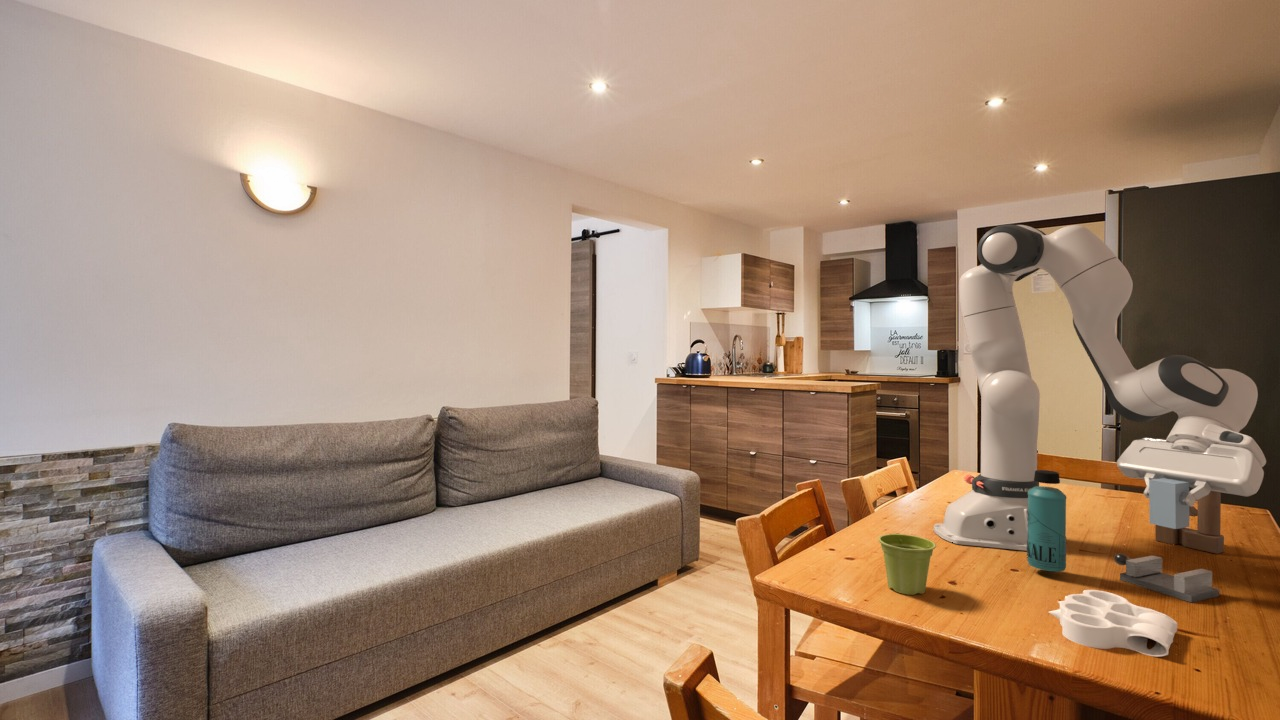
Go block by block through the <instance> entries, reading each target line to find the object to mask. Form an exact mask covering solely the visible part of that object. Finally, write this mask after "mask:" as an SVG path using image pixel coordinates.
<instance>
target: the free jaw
mask: <svg viewBox="0 0 1280 720" xmlns="http://www.w3.org/2000/svg"><path fill="white" fill-rule="evenodd" d="M1113 560H1114V562H1115V563H1116V564H1117V565H1119V566H1125V572H1126V574H1127V575H1130V576H1133V577H1138V576H1143V575H1148V574H1153V573H1158V572H1162V573H1163V557H1161V556H1157V555H1148V556H1142V557H1136V558H1129V557H1128V556H1127V555H1126V554H1124V553H1117V554H1115V555H1114V557H1113Z"/></svg>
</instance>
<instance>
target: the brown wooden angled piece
mask: <svg viewBox="0 0 1280 720" xmlns="http://www.w3.org/2000/svg"><path fill="white" fill-rule="evenodd" d="M1221 496H1222V492H1216V491H1210V493H1209V494H1208V495H1206V496H1204V497H1202V498H1200V499H1198V500H1197V508H1196V507H1194V505H1193V506H1192V507H1191V506H1189V517H1194V518H1195V517H1197V525H1196V526H1197V528H1196V529H1194V528H1190V527H1185V528H1179V529H1173V528H1168V527H1164V526H1159V525H1155V524H1154V525H1155V530H1154V531H1155V538H1154V539H1155V541H1157V542H1159V543H1163V542H1164V544H1168V543H1169V544H1168V545H1173V544H1174V545H1177V544H1179V545H1181V546H1182V547H1185V548H1188V549H1191V550H1192V549H1193V550H1197V551H1202V552H1207V553H1210V554H1215V555H1219V554H1220V553H1223V552H1224V551H1225V537H1224V535H1223V534H1221V521H1222V520H1221V519H1222V518H1221V506H1222V505H1221V503H1222V502H1221V499H1222V497H1221Z"/></svg>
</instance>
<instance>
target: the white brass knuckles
mask: <svg viewBox="0 0 1280 720" xmlns="http://www.w3.org/2000/svg"><path fill="white" fill-rule="evenodd" d="M1057 603H1058V604H1059V608H1058V609H1054V610H1051V611H1048V613H1049V614H1050V615H1052V616H1054V617H1055V618H1056V619H1058V620H1059V623H1060V624H1059V625H1060V626H1062V628H1061V630H1062V633H1061V634H1062V636H1063V637H1064V638H1066V639H1067V640H1069V641H1071V642H1073V643H1075V644H1078V645H1081V646H1084V647H1088V648H1093V649H1102V650H1107V649H1108V650H1109V649H1113V648H1118V649H1119V648H1121V649H1127V650H1131V651H1133V652H1137V653H1140V654H1142V655H1145V656H1150V657H1153V658H1154V657H1158V658H1159V657H1165V656H1169V649H1170V647H1171V644H1173V643H1174V637H1175V634H1176V632H1178V621H1175V619H1174V618H1172V617H1171V616H1169V615H1168V614H1165V613H1163V612H1160V611H1157V610H1154V609H1152V608H1149V607H1144V606H1141V605H1139V606H1138V605H1136V604H1134V603H1131V602H1130V601H1129V600H1128V599H1127V598H1125V597H1123V596H1122V595H1118V594H1116V593H1112V592H1108V591H1105V590H1097V589H1085V590H1083V591H1082V593H1071V594H1068V595H1065V597H1064V600H1061V601H1060V600H1059V601H1057ZM1149 639H1150V640H1152V641H1155V645H1154V646H1153V647H1152V648H1150V649H1149V648H1148V647H1147V646H1148V644H1147V643H1148V641H1149Z"/></svg>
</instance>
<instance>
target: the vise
mask: <svg viewBox="0 0 1280 720" xmlns="http://www.w3.org/2000/svg"><path fill="white" fill-rule="evenodd" d="M1119 580H1120V581H1122V580H1123V582H1125V581H1126V583H1128V582H1129V583H1128V584H1131V583H1132V584H1131V585H1134V584H1136V585H1135V586H1138V587H1141V588H1144V589H1148V590H1150V591H1154V592H1157V593H1160V594H1163V595H1166V596H1170V597H1171V598H1176V599H1178V600H1179V599H1180V600H1182V601H1185V602H1187V603H1196V602H1200V601H1204V600H1209V599H1212V598H1216V597H1220V589H1219V588H1216V587H1213V571H1212V570H1208V569H1204V568H1196V569H1193V570H1188V571H1184V572H1178V573H1175V574H1168V573H1165V572H1163V571H1162V572H1158V573H1153V574H1148V575H1143V576H1138V577H1133V576H1130V575H1127V574H1126V571H1125V572H1119Z"/></svg>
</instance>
